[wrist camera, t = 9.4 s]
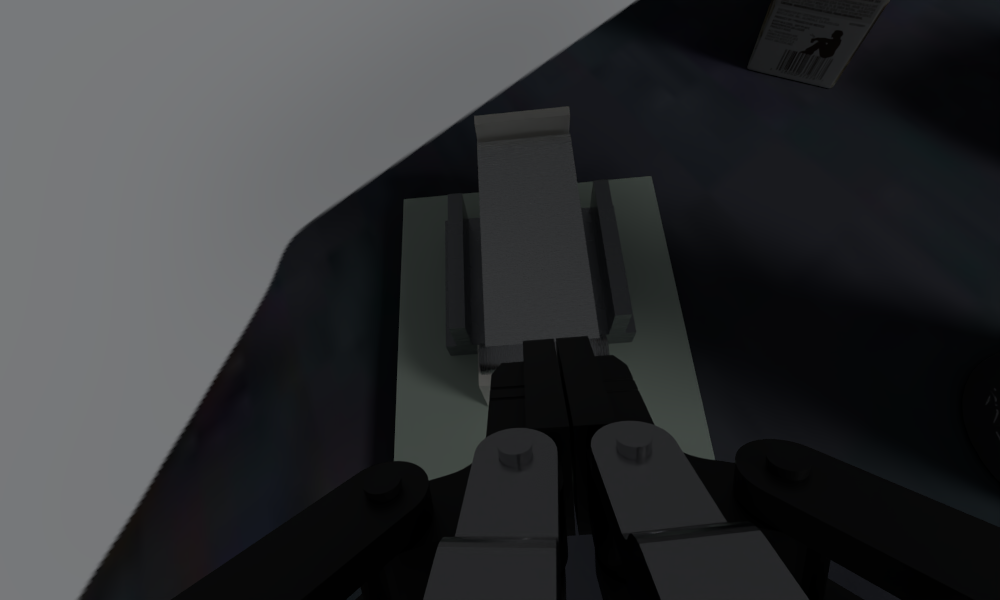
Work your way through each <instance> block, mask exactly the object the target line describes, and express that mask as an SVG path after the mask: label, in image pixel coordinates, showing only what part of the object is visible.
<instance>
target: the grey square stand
mask: <svg viewBox="0 0 1000 600" xmlns="http://www.w3.org/2000/svg"><path fill="white" fill-rule="evenodd" d="M474 122H475V130H476V135H477V141H478V143H479V142H489V141H499V140H509V139H519V138H529V137H539V136H549V135H559V134H569V125H570V111H569V106H567V107H558V108H548V109H538V110H528V111H519V112H509V113H499V114H489V115H480V116H474ZM608 181H609V187H610V193H611V198H612V204H613V205H614V210H615V216H616V222H617V227H618V233H619V238H620V244H621V249H622V255H623V261H624V266H625V272H626V277H627V283H628V289H629V294H630V300H631V305H632V311H633V316H634V322H635V328H636V334H635V336H634V338H633V341H632V342H627V343H614V344H608V346H609V355H614V356H615V357H617V358H618V359H620V360H621V361H622V362H624V363H625V364H627V366H628V368H629V370H630V372H631V374H632V376H633V380H634V381H635V383H636V385H637V387H638V391H639V392H640V394H641V396H642V398H643V401H644V403H645V405H646V407H647V409H648V412H649V414H650V416H651V418H652V420H653V422H654V425H655V426H658V427H660V428H662V429H664V430H665V431H667V432H668V433H669V434H670V435H672V436H673V438H674V439H675V440H676V442H677V443H678V445H679V447H680V448H681V450H682V451H683V452H684V453H686V454H689V455H692V456H696V457H699V458H705V459H710V460H715V458H714V453H713V449H712V444H711V440H710V435H709V431H708V427H707V422H706V418H705V413H704V409H703V404H702V400H701V395H700V391H699V386H698V382H697V378H696V373H695V369H694V364H693V360H692V355H691V351H690V346H689V342H688V338H687V333H686V329H685V324H684V320H683V315H682V311H681V306H680V302H679V297H678V293H677V289H676V284H675V280H674V275H673V271H672V266H671V262H670V257H669V253H668V248H667V244H666V240H665V235H664V231H663V226H662V222H661V217H660V213H659V208H658V204H657V199H656V195H655V191H654V186H653V182H652V177H651V176H647V177H636V178H626V179H615V180H608ZM577 184H578V191H579V198H580V205H581V208H590V201H591V194H592V186H593V182H583V183H577ZM462 195H463V199H464V203H465V207H466V211H467V215H468V219H469V218H480V203H479V192H477V193H466V194H462ZM447 220H448V195H445V196H434V197H424V198H413V199H404V208H403V235H402V261H401V288H400V314H399V341H398V368H397V394H396V421H395V448H394V461H406V462H410V463H414V464H416V465H418V466H420V467H421V468H422V469H423V470H424V471H425V472H426V474H427V476H428V480H432V479H436V478H439V477H442V476H446V475H449V474H452V473H455V472H457V471H459V470H462V469H464V468H465V467H467V466H469V465H470V464H471V463H472V461H473V457H474V453H475V450H476V448H477V446H478V445H479V444H480V443H481V441H482V440H484V439H485V438H486V431H487V419H488V408H489V397H490V385H491V375H492V374H490V375H481V373H480V367H479V353H478V354H470V355H457V356H450V354H449V352H448V350H447V348H446V282H445V221H447ZM478 349H479V345H478Z"/></svg>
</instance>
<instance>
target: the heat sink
mask: <svg viewBox="0 0 1000 600" xmlns="http://www.w3.org/2000/svg"><path fill="white" fill-rule="evenodd" d="M581 211H582V218H583V225H584V232H585V239H586V246H587V253H588V260H589V267H590V273H591V280H592V287H593V294H594V301H595V308H596V315H597V322H598V329H599V334H606V336H607V340H608V344H614V343H627V342H632V341H633V338H634V336H635V334H636V328H635V322H634V316H633V311H632V305H631V300H630V294H629V289H628V283H627V277H626V272H625V266H624V261H623V255H622V249H621V244H620V238H619V233H618V227H617V222H616V216H615V210H614V205H613V204H612V198H611V193H610V187H609V181H608V179H604V180H594V181H593V186H592V194H591V201H590V208H581ZM445 282H446V348H447V350H448V352H449V354H450V356H457V355H470V354H478V345H479V344H482V343H485V326H484V302H483V277H482V253H481V228H480V218H469V219H468V215H467V211H466V207H465V203H464V199H463V195H462V193H456V194H448V220H447V221H445Z"/></svg>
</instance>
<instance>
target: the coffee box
mask: <svg viewBox="0 0 1000 600" xmlns="http://www.w3.org/2000/svg"><path fill="white" fill-rule="evenodd" d="M889 1H890V0H771V3H770V5H769V8H768V11H767V14H766V16H765V19H764V22H763V25H762V27H761V30H760V33H759V36H758V39H757V41H756V44H755V47H754V50H753V52H752V55H751V58H750V60H749V63H748V66H747V68H748V69H749V70H753V71H757V72H762V73H766V74H770V75H774V76H779V77H783V78H787V79H791V80H796V81H800V82H804V83H808V84H812V85H816V86H820V87H825V88H832V87H833V86H834V85H835V83H836V82H837V80H838V79H839V77H840V76H841V74H842V73H843V71H844V69H845V68H846V66H847V65H848V63H849V62H850V60H851V59H852V57H853V56H854V54H855V53H856V51H857V49H858V48H859V46H860V45H861V43H862V42H863V41H864V39H865V38H866V36H867V34H868V33H869V31H870V30H871V28H872V27H873V25H874V24H875V22H876V21H877V19H878V18H879V16H880V15H881V13H882V12H883V10H884V9H885V7H886V6H887V4H888V3H889Z"/></svg>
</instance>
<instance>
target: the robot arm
mask: <svg viewBox="0 0 1000 600" xmlns="http://www.w3.org/2000/svg"><path fill="white" fill-rule="evenodd" d="M556 353H557V354H556ZM962 409H963V419H964V423H965V426H966V429H967V432H968V436H969V439H970V441H971V443H972V445H973V446H974V448H975V450H976V452H977V454H978V455H979V457H980V459H981V460H982V462H983V463H984V464H985V466H986V467H987V468H988V469H989V471H990V472H991V473H992V474H993V476H994V477H995V478H996V479H997V480H998V481H999V482H1000V352H998V353H996V354H994V355H992V356H991V357H989V358H987V359H985V360H984V361H982V362H981V363H980V364H979V365H978V366H977V367H976V368H975V369H974V370H973V371H972V372H971V374H970V376H969V378H968V380H967V382H966V385H965V387H964V393H963V399H962ZM573 499H574V501H573ZM574 506H575V512H576V518H577V525H578V531H579V535H586V534H592V535H593V541H594V546H595V566H596V575H597V579H598V583H599V587H600V591H601V594H602V598H603V600H864V599H862V598H860V597H859V596H857V595H855V594H853V593H852V592H850V591H848V590H847V589H845V588H843V587H842V586H840V585H838V584H837V583H835V582H833V581H832V580H830V579H828V578H827V577H828V572H829V566H830V560H832V561H834V562H836V563H838V564H839V565H841V566H843V567H845V568H846V569H848V570H850V571H852V572H853V573H855V574H857V575H859V576H861V577H862V578H864V579H866V580H868V581H869V582H871V583H873V584H875V585H876V586H878V587H880V588H882V589H883V590H885V591H887V592H889V593H891V594H892V595H894V596H896V597H898V598H899V599H901V600H1000V527H997V526H995V525H992V524H990V523H988V522H985V521H983V520H981V519H978V518H976V517H973V516H971V515H969V514H966V513H964V512H962V511H959V510H957V509H954V508H952V507H950V506H947V505H945V504H942V503H940V502H938V501H935V500H933V499H931V498H928V497H926V496H923V495H921V494H919V493H916V492H914V491H912V490H909V489H907V488H904V487H902V486H900V485H897V484H895V483H893V482H890V481H888V480H885V479H883V478H881V477H878V476H876V475H874V474H871V473H869V472H866V471H864V470H862V469H859V468H857V467H855V466H852V465H850V464H847V463H845V462H843V461H840V460H838V459H835V458H833V457H831V456H828V455H826V454H824V453H821V452H819V451H816V450H814V449H812V448H809V447H807V446H804V445H801V444H798V443H794V442H790V441H785V440H777V439H763V440H756V441H752V442H749V443H747V444H745V445H743V446H742V447H741V448H740V449H739V450H738V452H737V453H736V458H735V463H730V462H724V461H717V460H710V459H705V458H699V457H696V456H692V455H689V454H686V453H684V452H683V451H682V450H681V448H680V447H679V445H678V443H677V442H676V440H675V439H674V438H673V436H672V435H670V434H669V433H668V432H667V431H665V430H664V429H662V428H660V427H658V426H655V425H654V422H653V420H652V418H651V416H650V414H649V412H648V409H647V407H646V405H645V403H644V401H643V398H642V396H641V394H640V392H639V391H638V387H637V385H636V383H635V381H634V380H633V376H632V374H631V372H630V370H629V368H628V366H627V364H625V363H624V362H622V361H621V360H620V359H618V358H617V357H615V356H614V355H604V356H594V353H593V350H592V347H591V344H590V341H589V338H588V336H579V337H565V338H556V349H555V343H554V338H553V339H540V340H526V341H523V361H522V362H509V363H501V364H500V365H499V366H498V368H497V369H496V370H495V371H494V372H493V373H492V375H491V385H490V397H489V408H488V419H487V431H486V438H485V439H484V440H482V441H481V443H480V444H479V445H478V446H477V448H476V450H475V453H474V457H473V461H472V463H471V464H470V465H469V466H467V467H465V468H464V469H462V470H459V471H457V472H455V473H452V474H449V475H446V476H442V477H439V478H436V479H432V480H428V476H427V474H426V472H425V471H424V470H423V469H422V468H421V467H420V466H418V465H416V464H414V463H410V462H406V461H390V462H384V463H380V464H377V465H374V466H371V467H369V468H367V469H364V470H363V471H361V472H359V473H358V474H356V475H355V476H353V477H352V478H350V479H349V480H347V481H346V482H344V483H343V484H341V485H340V486H339V487H337V488H336V489H334V490H333V491H331V492H330V493H328V494H327V495H325V496H324V497H322V498H321V499H319V500H318V501H316V502H315V503H313V504H312V505H310V506H309V507H307V508H306V509H305V510H303V511H302V512H300V513H299V514H297V515H296V516H294V517H293V518H291V519H290V520H288V521H287V522H285V523H284V524H282V525H281V526H279V527H278V528H276V529H275V530H273V531H272V532H270V533H269V534H268V535H266V536H265V537H263V538H262V539H260V540H259V541H257V542H256V543H254V544H253V545H251V546H250V547H248V548H247V549H245V550H244V551H242V552H241V553H239V554H238V555H236V556H235V557H234V558H232V559H231V560H229V561H228V562H226V563H225V564H223V565H222V566H220V567H219V568H217V569H216V570H214V571H213V572H211V573H210V574H208V575H207V576H205V577H204V578H202V579H201V580H200V581H198V582H197V583H195V584H194V585H192V586H191V587H189V588H188V589H186V590H185V591H183V592H182V593H180V594H179V595H177V596H176V597H174V598H173V599H171V600H346V599H347V598H348V597H349V596H350V595H352V594H353V593H354V592H355V591H356V590H357V589H359V588H360V587H361V591H362V594H361V595H360V596H359V597H358V598H357V599H356V600H566V574H565V566H566V563H567V559H568V545H567V536H571V535H575V519H574Z"/></svg>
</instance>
